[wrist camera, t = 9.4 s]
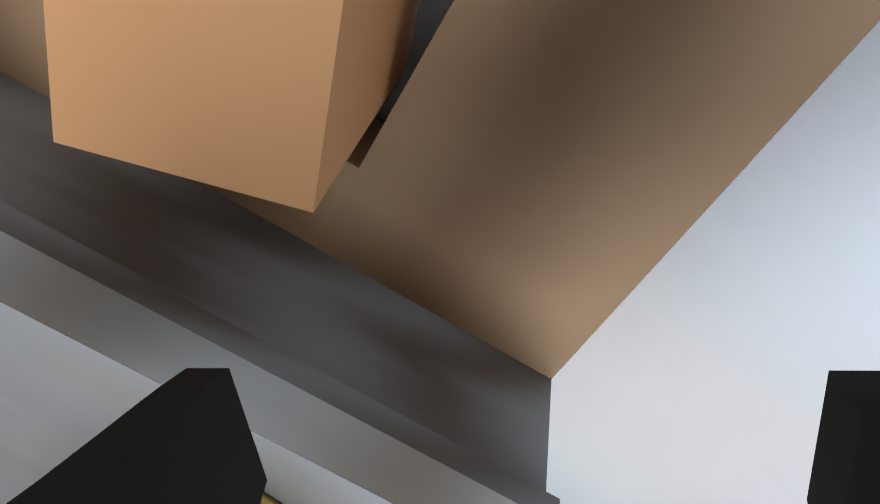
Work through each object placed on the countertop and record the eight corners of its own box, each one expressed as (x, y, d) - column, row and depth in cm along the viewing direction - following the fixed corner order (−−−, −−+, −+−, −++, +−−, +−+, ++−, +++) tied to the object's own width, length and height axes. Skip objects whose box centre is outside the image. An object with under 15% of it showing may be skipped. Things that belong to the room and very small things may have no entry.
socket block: (845, -24, 15) (1028, 100, 9) (533, 340, 20) (514, 565, 14) (-33, -633, 12) (-623, -1046, 6) (-108, -22, 18) (-452, 69, 12)
